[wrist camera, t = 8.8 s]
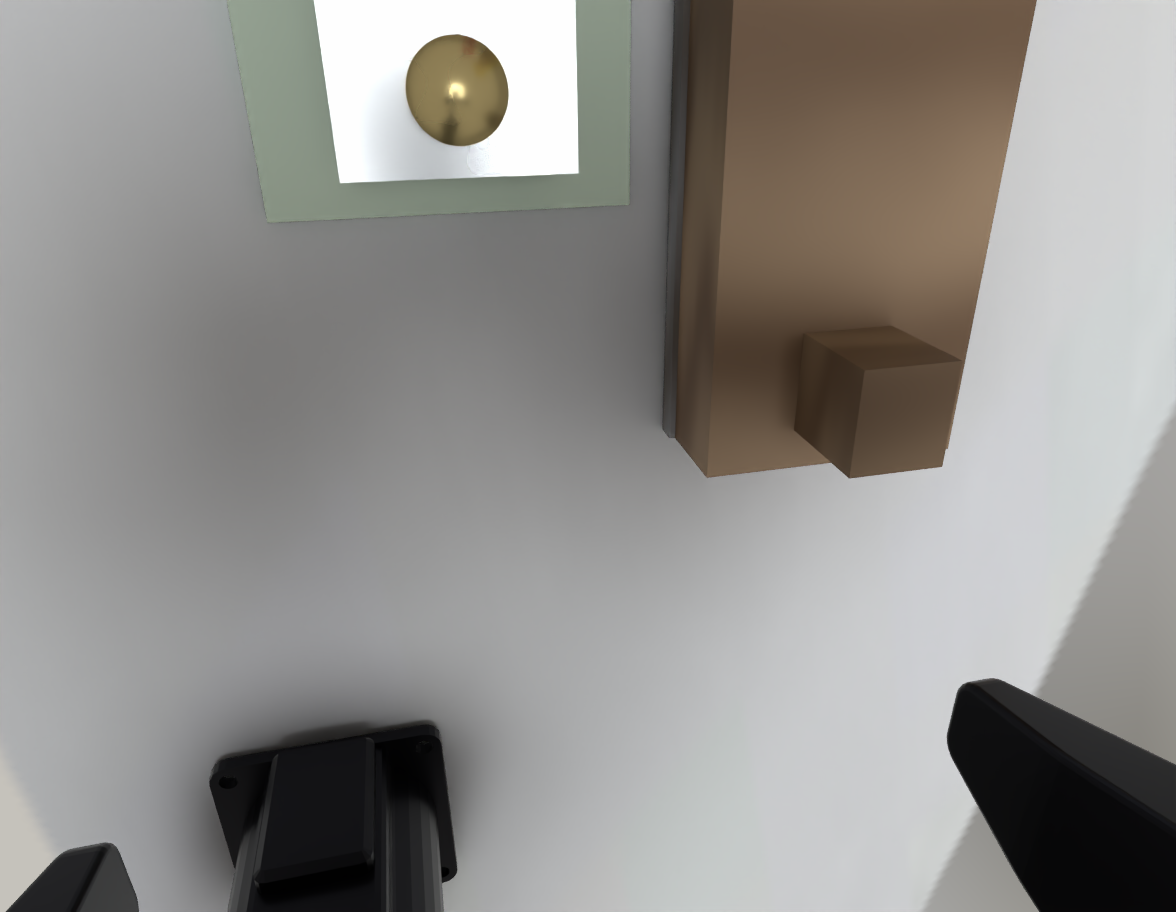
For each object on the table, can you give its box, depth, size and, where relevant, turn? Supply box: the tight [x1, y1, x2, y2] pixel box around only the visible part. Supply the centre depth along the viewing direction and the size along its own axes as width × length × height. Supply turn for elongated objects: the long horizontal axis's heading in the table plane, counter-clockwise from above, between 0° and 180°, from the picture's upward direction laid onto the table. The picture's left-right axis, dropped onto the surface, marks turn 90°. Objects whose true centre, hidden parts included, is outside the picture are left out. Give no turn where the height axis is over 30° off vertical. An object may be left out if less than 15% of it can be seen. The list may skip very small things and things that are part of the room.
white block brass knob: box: [314, 0, 578, 183], centre depth 15 cm, size 6×4×3 cm
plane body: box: [663, 0, 1037, 478], centre depth 16 cm, size 18×7×6 cm, turn 1°
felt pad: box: [227, 0, 631, 223], centre depth 16 cm, size 8×8×1 cm
